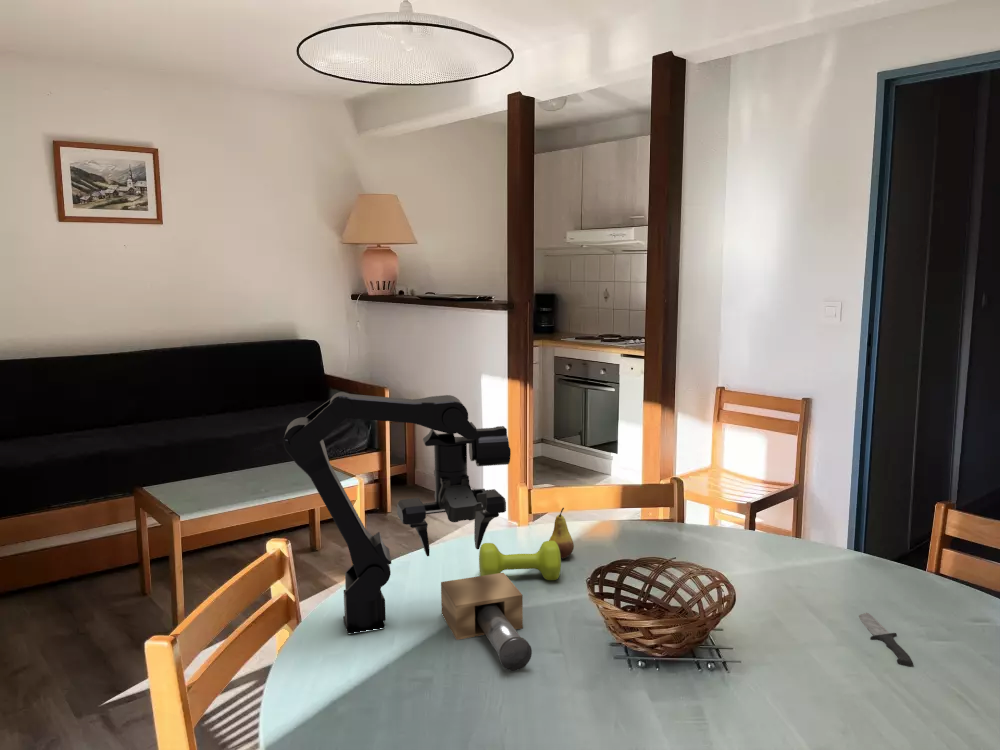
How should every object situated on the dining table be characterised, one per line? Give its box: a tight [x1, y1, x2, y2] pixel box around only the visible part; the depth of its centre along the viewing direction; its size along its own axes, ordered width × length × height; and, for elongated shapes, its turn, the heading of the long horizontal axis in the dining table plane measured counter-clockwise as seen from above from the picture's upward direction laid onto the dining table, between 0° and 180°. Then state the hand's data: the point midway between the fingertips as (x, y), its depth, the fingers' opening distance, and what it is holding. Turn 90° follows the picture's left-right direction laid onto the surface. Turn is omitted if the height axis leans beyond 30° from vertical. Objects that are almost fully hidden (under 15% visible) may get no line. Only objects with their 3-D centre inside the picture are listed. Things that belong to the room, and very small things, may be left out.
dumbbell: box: [478, 540, 562, 581], centre depth 154 cm, size 16×8×7 cm, turn 93°
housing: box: [440, 572, 524, 641], centre depth 136 cm, size 12×10×6 cm
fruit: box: [548, 507, 575, 559], centre depth 164 cm, size 6×6×12 cm
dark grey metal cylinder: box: [475, 603, 533, 672], centre depth 126 cm, size 5×15×5 cm, turn 19°
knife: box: [858, 612, 914, 667], centre depth 131 cm, size 22×1×5 cm
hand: (452, 552), depth 137 cm, fingers open, 9 cm apart
